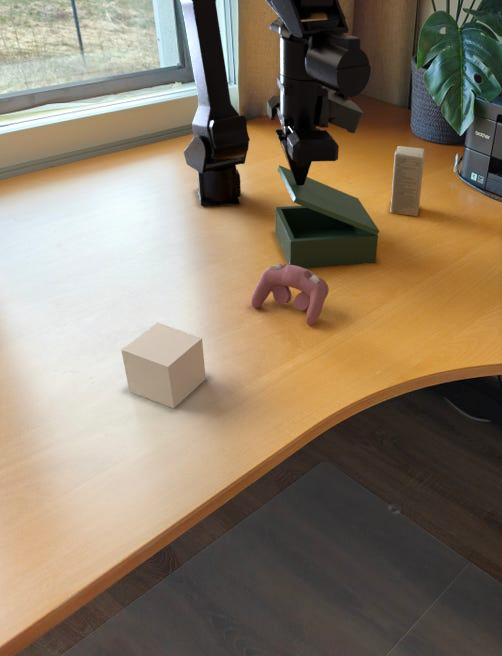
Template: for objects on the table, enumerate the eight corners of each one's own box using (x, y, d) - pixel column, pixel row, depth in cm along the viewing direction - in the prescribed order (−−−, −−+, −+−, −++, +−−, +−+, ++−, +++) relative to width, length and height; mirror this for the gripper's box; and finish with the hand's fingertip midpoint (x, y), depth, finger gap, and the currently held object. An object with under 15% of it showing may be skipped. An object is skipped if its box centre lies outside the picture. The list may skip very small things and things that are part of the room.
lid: (293, 202, 93) (295, 197, 93) (277, 169, 102) (279, 165, 101) (377, 235, 101) (379, 231, 101) (356, 202, 110) (358, 198, 109)
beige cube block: (205, 378, 78) (202, 338, 75) (173, 408, 74) (168, 367, 70) (163, 362, 80) (157, 322, 76) (128, 391, 75) (121, 349, 71)
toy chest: (290, 269, 100) (290, 241, 97) (275, 233, 108) (275, 206, 105) (375, 263, 105) (378, 235, 102) (355, 229, 113) (356, 203, 110)
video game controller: (324, 324, 92) (336, 276, 91) (311, 327, 88) (323, 276, 87) (261, 305, 94) (271, 257, 93) (246, 307, 90) (256, 256, 88)
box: (419, 207, 123) (427, 148, 116) (417, 217, 119) (424, 157, 113) (391, 202, 123) (397, 144, 116) (388, 212, 119) (394, 152, 113)
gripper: (379, 98, 85) (370, 209, 94) (341, 57, 98) (336, 158, 108) (293, 97, 81) (292, 213, 90) (265, 54, 94) (267, 160, 104)
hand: (300, 184), depth 98 cm, fingers closed
